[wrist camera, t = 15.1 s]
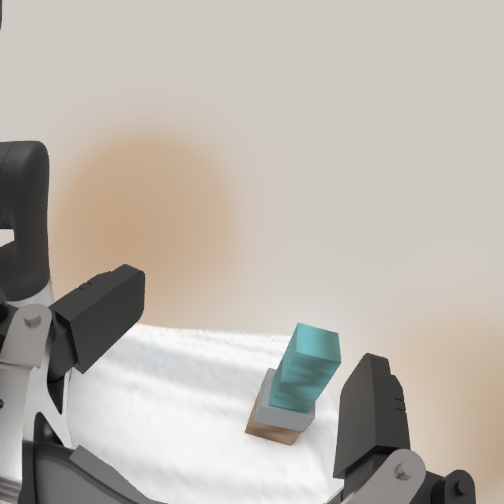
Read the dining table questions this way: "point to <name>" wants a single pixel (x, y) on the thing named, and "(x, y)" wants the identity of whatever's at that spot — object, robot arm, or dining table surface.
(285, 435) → the walnut slab
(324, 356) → the teal pillar
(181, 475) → the dining table surface
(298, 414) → the grey slab
